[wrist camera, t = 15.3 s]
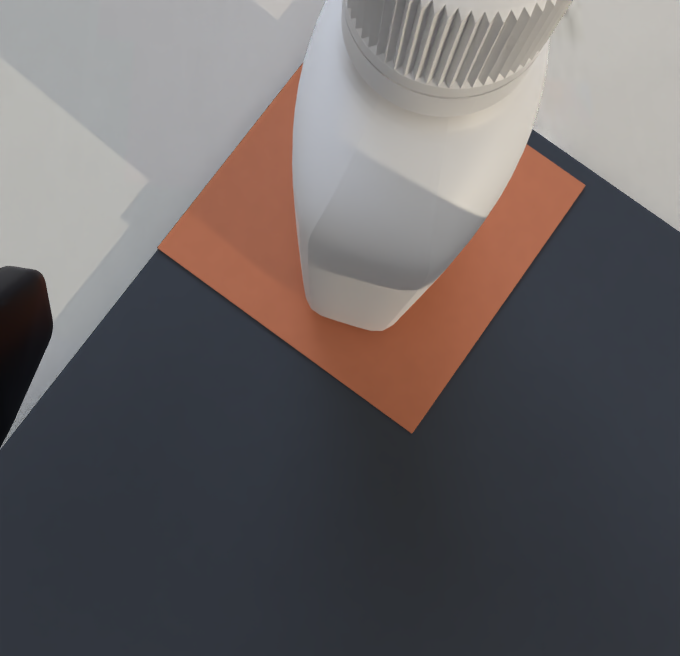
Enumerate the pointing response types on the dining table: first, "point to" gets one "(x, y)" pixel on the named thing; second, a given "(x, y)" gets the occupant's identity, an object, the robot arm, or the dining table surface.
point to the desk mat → (362, 442)
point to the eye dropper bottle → (408, 141)
